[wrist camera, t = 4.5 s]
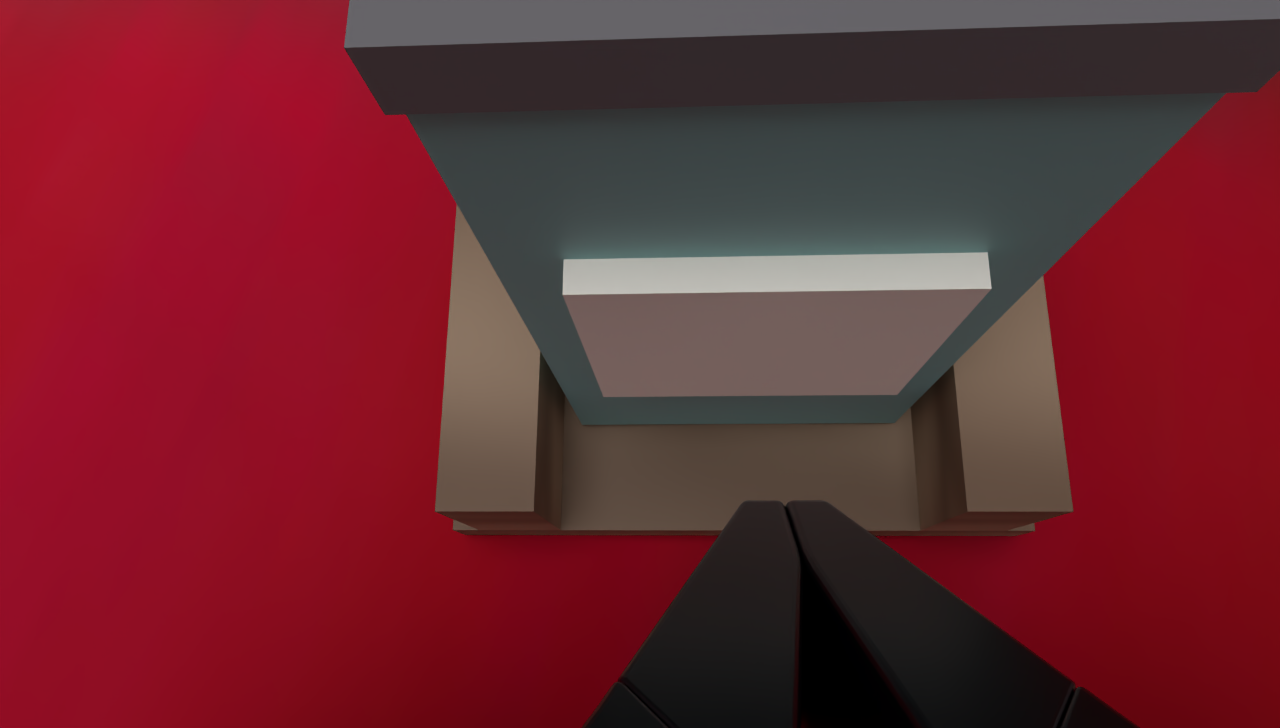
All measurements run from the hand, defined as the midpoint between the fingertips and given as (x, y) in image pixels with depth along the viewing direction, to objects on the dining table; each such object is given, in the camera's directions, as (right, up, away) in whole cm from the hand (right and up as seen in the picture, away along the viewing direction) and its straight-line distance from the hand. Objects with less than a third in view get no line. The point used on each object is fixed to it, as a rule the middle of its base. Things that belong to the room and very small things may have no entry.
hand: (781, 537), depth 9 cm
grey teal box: (+1, +3, +9) cm, 10 cm away
